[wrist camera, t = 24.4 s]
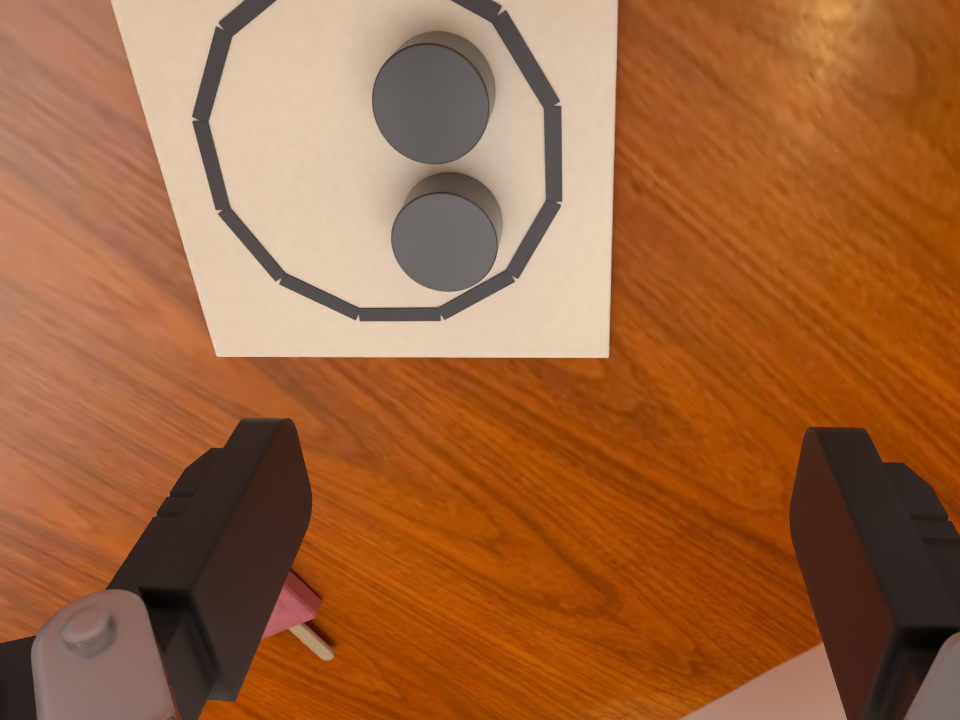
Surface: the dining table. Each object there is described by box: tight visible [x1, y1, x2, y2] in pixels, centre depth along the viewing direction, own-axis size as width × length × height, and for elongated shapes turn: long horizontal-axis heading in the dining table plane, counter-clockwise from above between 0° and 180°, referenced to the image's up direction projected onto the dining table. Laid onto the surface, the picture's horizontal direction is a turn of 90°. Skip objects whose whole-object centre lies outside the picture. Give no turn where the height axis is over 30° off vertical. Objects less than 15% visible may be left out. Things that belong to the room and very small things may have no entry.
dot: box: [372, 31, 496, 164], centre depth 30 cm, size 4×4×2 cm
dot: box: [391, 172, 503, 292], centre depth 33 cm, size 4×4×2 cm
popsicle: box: [261, 571, 335, 660], centre depth 49 cm, size 5×2×15 cm
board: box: [111, 0, 618, 358], centre depth 33 cm, size 20×20×1 cm
